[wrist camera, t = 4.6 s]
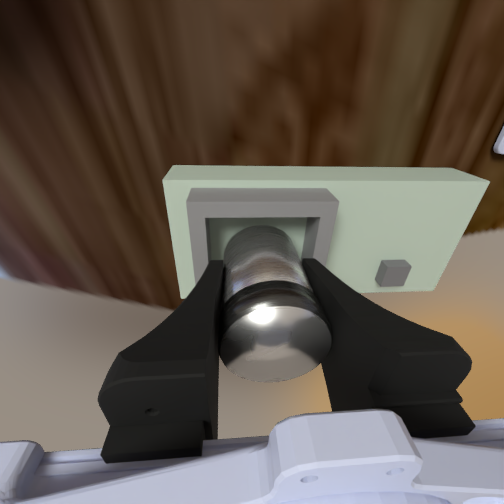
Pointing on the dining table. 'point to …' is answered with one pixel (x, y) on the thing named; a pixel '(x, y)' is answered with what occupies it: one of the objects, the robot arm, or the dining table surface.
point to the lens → (269, 309)
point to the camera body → (326, 218)
